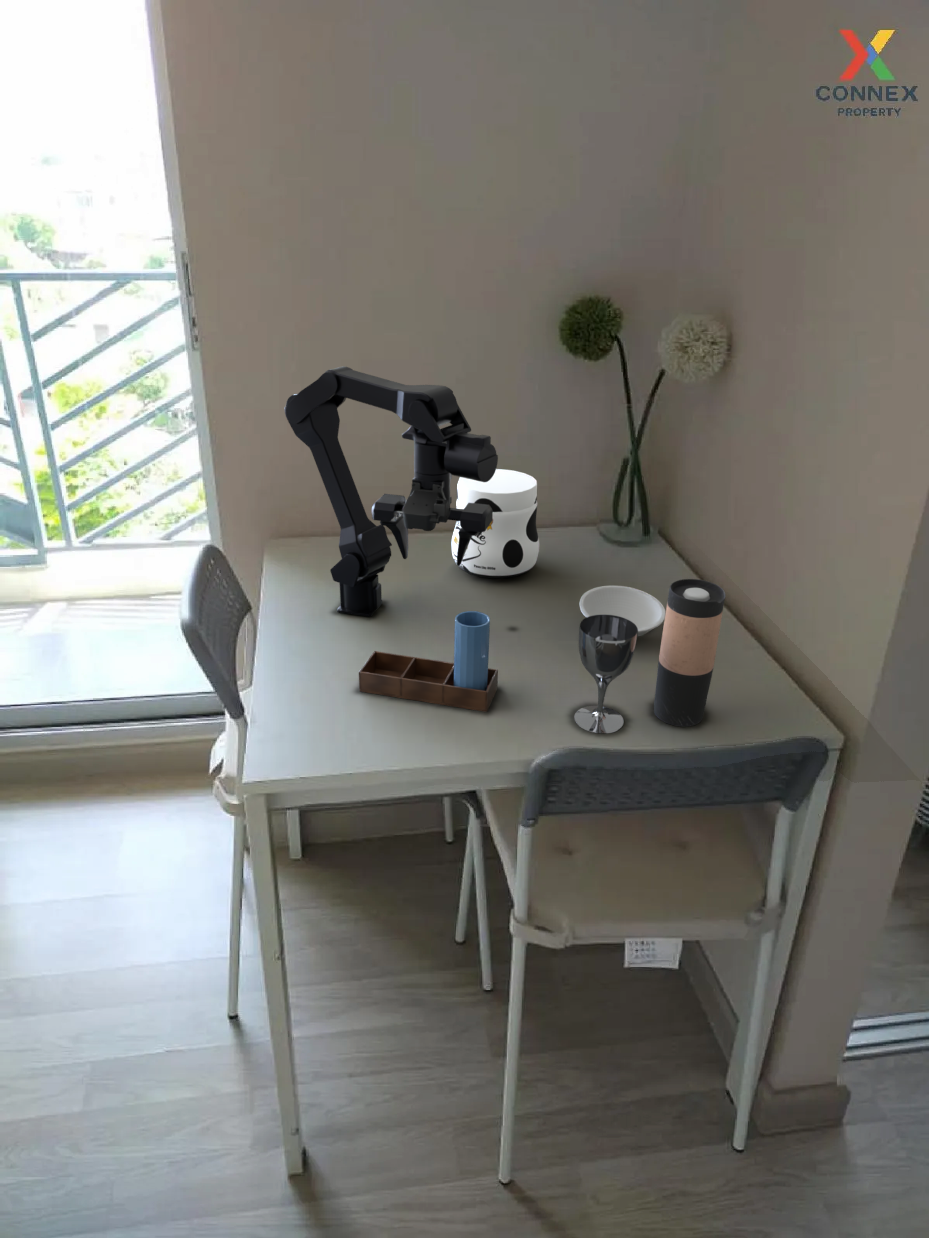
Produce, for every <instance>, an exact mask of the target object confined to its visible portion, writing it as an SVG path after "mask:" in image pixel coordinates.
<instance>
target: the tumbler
mask: <svg viewBox="0 0 929 1238" xmlns="http://www.w3.org/2000/svg"><path fill="white" fill-rule="evenodd" d="M490 629H491V618H490V616H489V615H488V614H486V613H484V612H481V611H478V610H477V611H475V610H469V611H462V612H460V613H458V614H456V615H455V617H454V640H453V641H454V643H453V644H454V646H453V648H454V651H453V663H454V686H457V687H464V688H470V689H476V690H483V691H486V690H487V687H488V668H489V656H490V633H491V630H490Z"/></svg>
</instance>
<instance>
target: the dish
mask: <svg viewBox="0 0 929 1238" xmlns="http://www.w3.org/2000/svg"><path fill="white" fill-rule="evenodd" d="M578 604H579V609H580V612H581V613H582V615H583V616H584V617H585V618H587V617H589V616H593V615H615V616H619V617H623V618H625V619H628V620H630V621H631V622H633V623H634V624H635V625H636V626H637V628H638V636H637V638H638V637H641V636H644V635H646V634H648V633H650V632H651V631H652V630H654V629H656V628H658V627H659V626H660V625H662V624H663V623H664V621H665V614H666V609H665V607H664V605H663V604H662V602H661V601H660V600H659V599H657V598H656V597H655V596H653V595H652V594H650V593H647V592H646V591H644V590H640V589H638V588H636V587H635V588H634V587H632V586H631V587H630V586H626V585H625V586H624V585H603V586H602V585H601V586H597V587H594V588H591V589H589V590H587V591H585V592H584V593H583V594H582V596H581V597H580V599H579V603H578Z"/></svg>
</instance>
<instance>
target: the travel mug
mask: <svg viewBox="0 0 929 1238" xmlns="http://www.w3.org/2000/svg"><path fill="white" fill-rule="evenodd" d="M725 599H726V591H725V590H724V588H723V587H721V586H720V585H719V584H717V583H714V582H711V581H708V580H704V579H699V578H698V579H697V578H683V579H678V580H675V581H673V582H672V583H670V585H669V589H668V595H667V600H666V609H665V613H666V614H665V619H664V621H663V627H662V628H663V629H662V635H661V641H660V649H659V653H658V662H657V673H656V680H655V681H656V682H655V683H656V684H655V691H654V701H653V703H654V704H653V713H654V715H655V716H656V717H657V718H658V720H660V721H662V722H663V723H666V724H668V725H671V726H675V727H692V726H696V725H697V724H699V723H701V722H702V720H703V718H704V714H705V708H706V706H707V702H708V701H707V700H708V695H709V692H710V691H709V690H710V686H711V682H712V677H713V672H714V667H715V661H716V654H717V649H718V642H719V637H720V632H721V631H720V630H721V625H722V619H723V618H722V617H723V611H724V605H725Z"/></svg>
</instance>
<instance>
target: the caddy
mask: <svg viewBox="0 0 929 1238" xmlns="http://www.w3.org/2000/svg"><path fill="white" fill-rule="evenodd" d="M498 681H499V669H496V668H490V667H488V687H487V690H486V691H483V690H476V689H470V688H464V687H457V686H454V662H450V661H443V660H438V659H437V660H436V659H430V658H425V657H424V658H423V657H417V656H411V655H404V654H396V653H390V652H384V651H377V650H374V651H373V652H372V654H370V656H369V657H368V658H367V660H366V661H365V663H364V664H363V666H362V667H361V668H360V669H359V671H358V687H359V688H358V690H359V692H362V693H367V694H372V695H373V694H374V695H380V696H385V697H393V698H397V699H403V700H404V699H405V700H410V701H417V702H423V703H427V704H428V703H430V704H434V705H440V706H448V707H454V708H460V709H466V710H473V711H478V712H484V713H487V712H488V711H489V709H490V706H491V704H492V702H493V699H494V697H495V695H496V693H497V690H498Z"/></svg>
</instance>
